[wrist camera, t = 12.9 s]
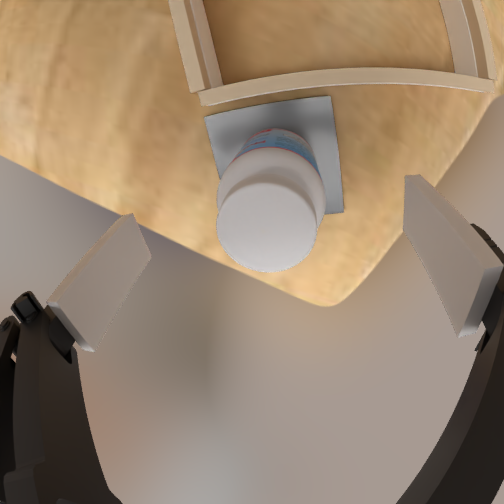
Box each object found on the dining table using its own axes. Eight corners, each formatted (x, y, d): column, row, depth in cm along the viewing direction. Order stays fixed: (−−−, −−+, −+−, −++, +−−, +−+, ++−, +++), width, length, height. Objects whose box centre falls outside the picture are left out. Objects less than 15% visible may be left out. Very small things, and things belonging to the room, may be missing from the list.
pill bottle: (256, 115, 20) (224, 142, 11) (327, 147, 20) (359, 203, 11) (229, 181, 23) (185, 256, 14) (295, 209, 24) (296, 299, 14)
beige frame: (183, -19, 14) (158, -37, 10) (437, -30, 9) (463, -44, 5) (212, 104, 20) (193, 110, 16) (466, 89, 15) (499, 95, 11)
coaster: (205, 116, 21) (203, 117, 20) (329, 95, 19) (330, 95, 18) (233, 222, 26) (232, 225, 25) (342, 209, 24) (343, 212, 23)
